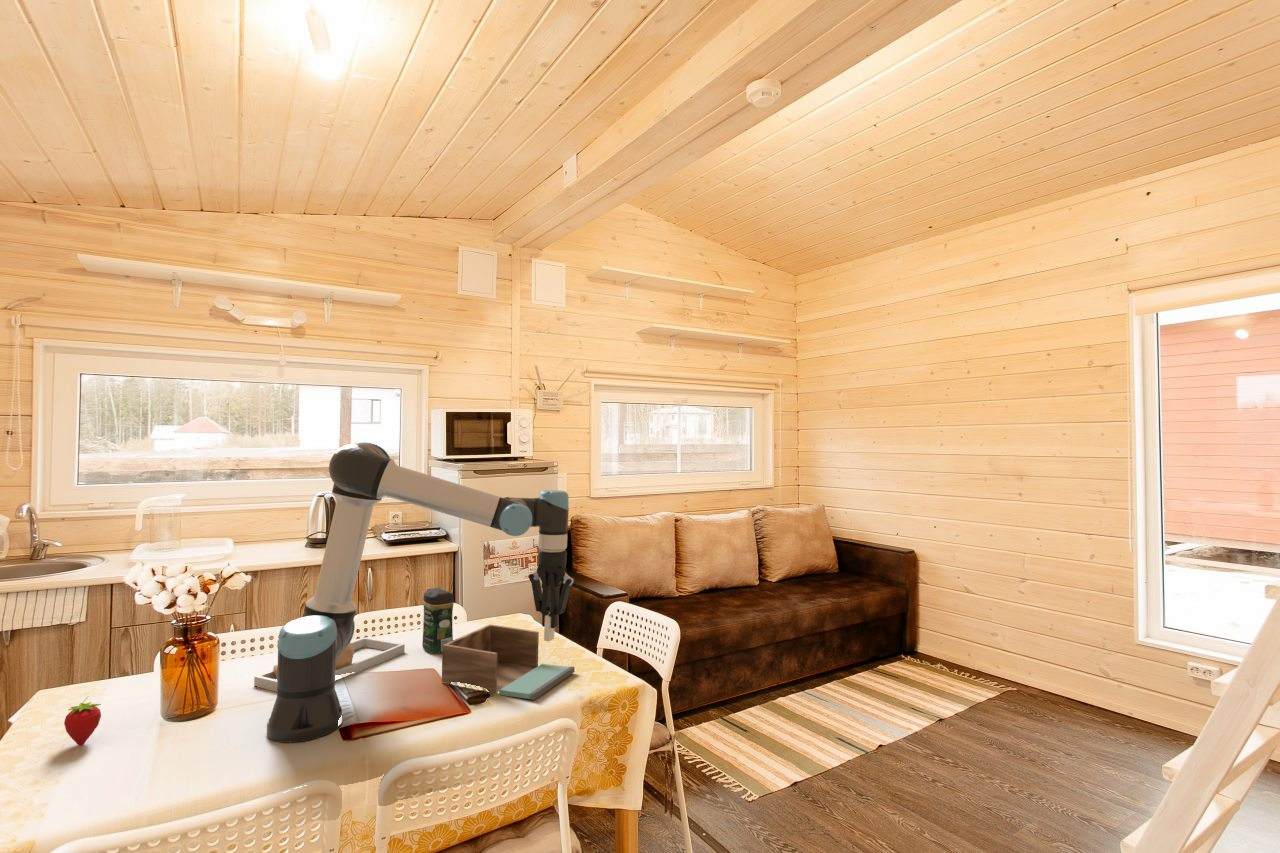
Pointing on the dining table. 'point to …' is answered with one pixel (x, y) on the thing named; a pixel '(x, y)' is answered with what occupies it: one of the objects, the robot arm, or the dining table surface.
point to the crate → (490, 657)
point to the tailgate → (537, 681)
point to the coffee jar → (437, 619)
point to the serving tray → (391, 651)
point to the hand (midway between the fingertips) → (549, 639)
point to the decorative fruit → (82, 721)
